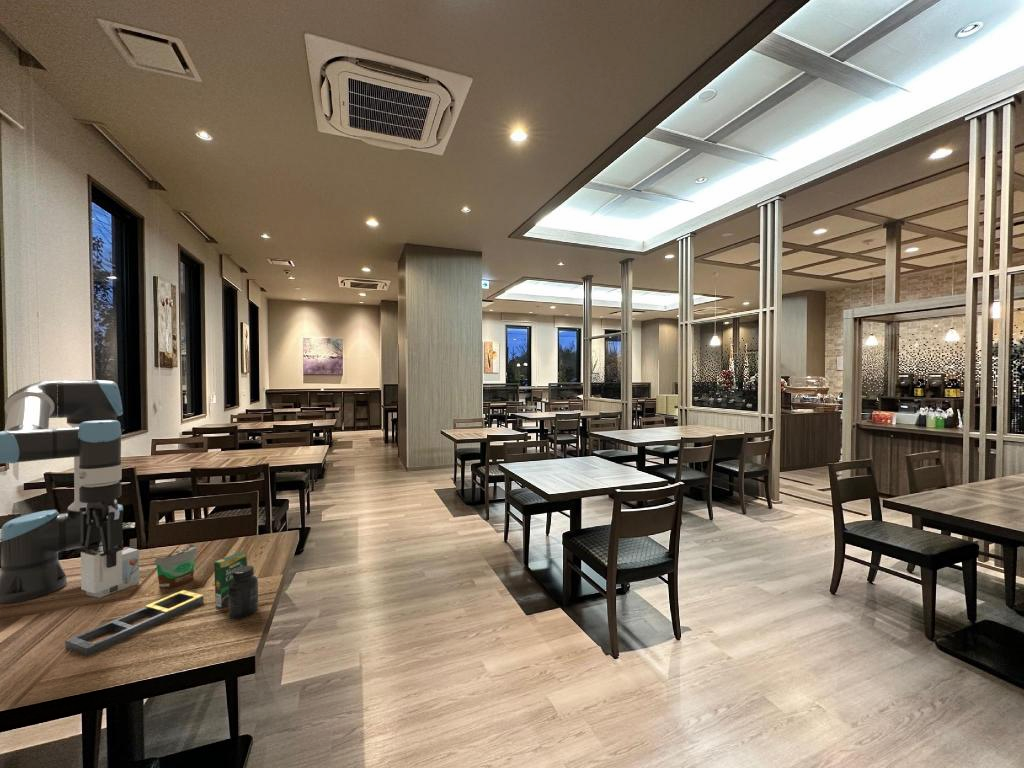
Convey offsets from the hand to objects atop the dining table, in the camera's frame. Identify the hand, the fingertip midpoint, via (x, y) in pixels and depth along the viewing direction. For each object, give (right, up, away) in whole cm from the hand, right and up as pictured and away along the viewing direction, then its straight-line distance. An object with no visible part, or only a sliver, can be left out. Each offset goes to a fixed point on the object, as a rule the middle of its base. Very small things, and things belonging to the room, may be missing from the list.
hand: (101, 577), depth 105 cm
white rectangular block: (0, -2, 0) cm, 2 cm away
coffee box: (+20, -15, +18) cm, 31 cm away
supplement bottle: (+28, -15, +12) cm, 34 cm away
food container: (-4, -16, +30) cm, 34 cm away
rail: (+3, -15, +7) cm, 17 cm away
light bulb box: (-22, -16, +27) cm, 38 cm away
